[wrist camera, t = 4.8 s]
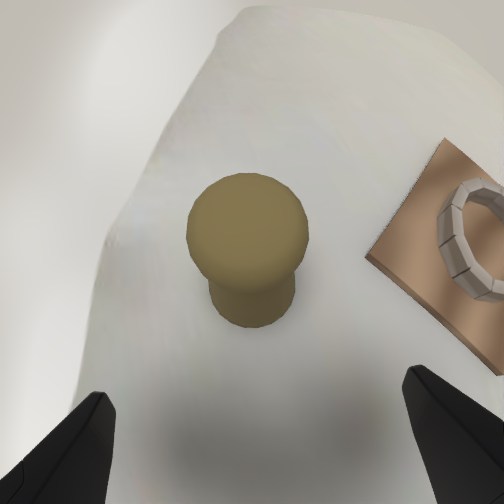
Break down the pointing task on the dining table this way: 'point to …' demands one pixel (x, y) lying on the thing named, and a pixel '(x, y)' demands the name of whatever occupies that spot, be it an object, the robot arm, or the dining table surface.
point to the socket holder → (452, 251)
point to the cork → (248, 246)
